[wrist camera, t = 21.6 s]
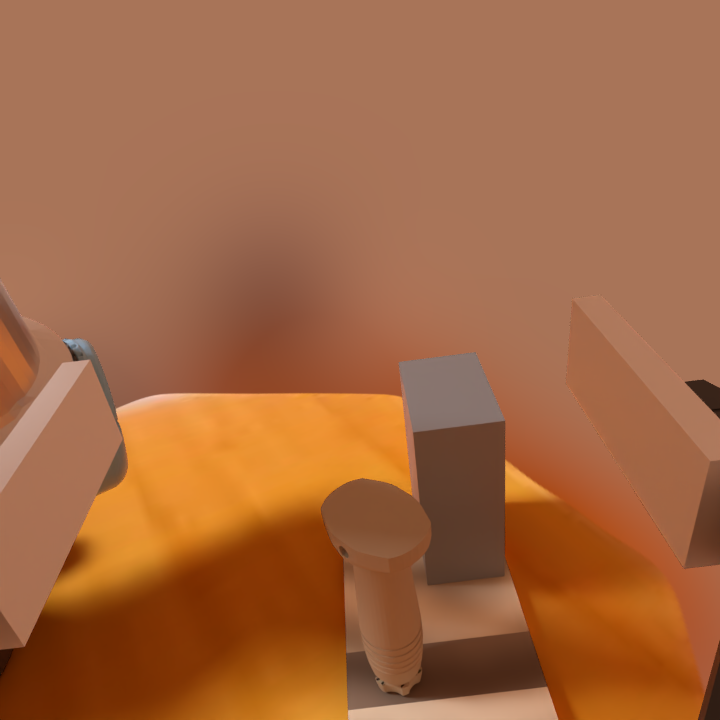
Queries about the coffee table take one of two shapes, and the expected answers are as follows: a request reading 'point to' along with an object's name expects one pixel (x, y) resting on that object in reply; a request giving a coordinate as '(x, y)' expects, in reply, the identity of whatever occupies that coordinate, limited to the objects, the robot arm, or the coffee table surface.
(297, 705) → the coffee table surface
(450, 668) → the subfloor panel
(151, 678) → the coffee table surface
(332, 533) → the handle
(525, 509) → the coffee table surface
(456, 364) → the tall rectangular block
